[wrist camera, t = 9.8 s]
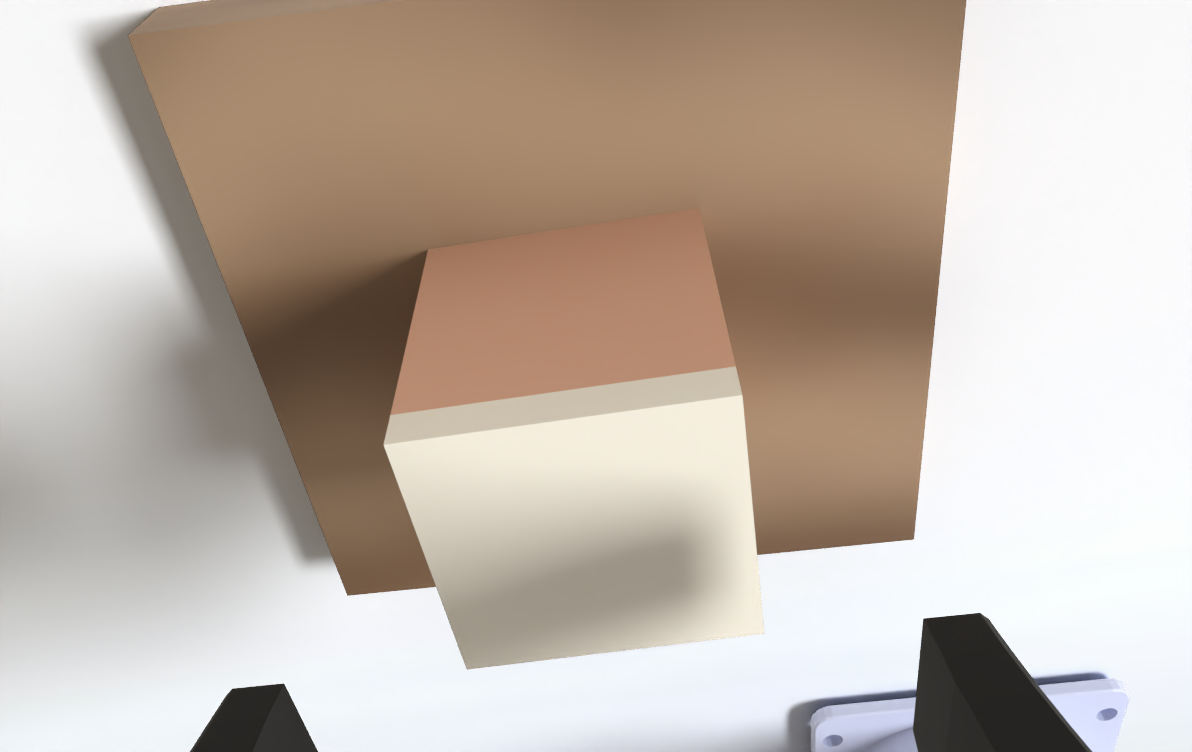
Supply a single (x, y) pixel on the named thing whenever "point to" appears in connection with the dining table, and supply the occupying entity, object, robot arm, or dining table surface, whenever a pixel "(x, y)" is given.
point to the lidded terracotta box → (578, 443)
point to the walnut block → (578, 212)
